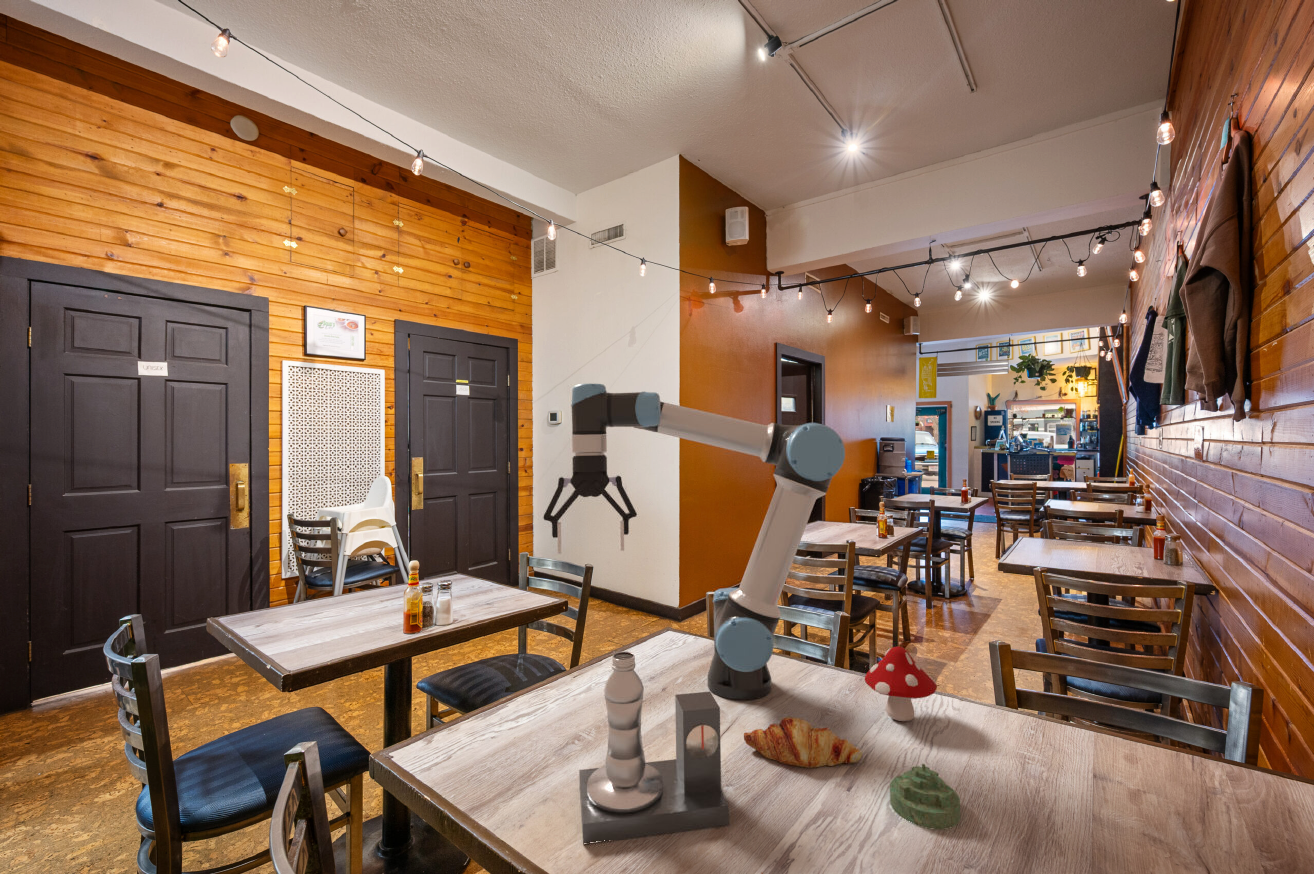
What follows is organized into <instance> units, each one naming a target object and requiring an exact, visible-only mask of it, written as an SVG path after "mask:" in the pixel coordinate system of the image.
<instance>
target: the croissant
mask: <svg viewBox="0 0 1314 874" xmlns="http://www.w3.org/2000/svg"><path fill="white" fill-rule="evenodd" d="M743 740H744V742H745V743H746V744H747V746H749V747H750V748H752V749H754V750H756V751H757V752H758V753H760V754H761V756H763V757H765V758H767V759H768V760H774V761H777V762H779V763H781V764H784V765H790V766H797V767H801V768H818V767H819V768H820V767H824V766H829V767H833V766H836V765H841V764H853V763H856V762H859V761H860V760H861V759H862V755H863V752H862V750H861V749H859V748H857V747H856V746H855V745H854V744H852V742H850V741H849V740H848V739H846V738H844V739H842V738H840V737H839V736H838V735H836V734H834V733H833V731H832V730H829V728H828V727H821V728H819V727H818V728H817V727H813V726H812V725H811V724H810V723H809V722H808V721H807V720H805V719H801V718H800V717H799V718H798V717H792V716H790V717H784V718H782V719H781V721H780V723H770V724H769V726H768V727H767V728H766V729H762V728H757V729H755V730H752V731H751V732H744V733H743Z"/></svg>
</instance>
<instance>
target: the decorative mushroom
mask: <svg viewBox="0 0 1314 874" xmlns="http://www.w3.org/2000/svg"><path fill="white" fill-rule="evenodd" d="M864 682H865V683H866V684H867V686H869V687H870V688H871V689H872V690H873V691H875V692H876V693H878V694H880V695H882V696H883V695H885V696H888V698H887V702H886V704H885V705H886V706H885V711H886V715H888V716H889V717H890V718H891V719H893V720H894V721H899V722H908V721H911V720H912V719H914V718H915V708H914V706H913V705H914V704H913V702H912V700H915V699H924V698H927V697H930V696H932V695H933V694H934V693H936V692H937V688H938V685H937V683H936V681H935V679H933V677H932V676H930V675H929V674H927V673H926V672H925V671H924V669H922V668H921V667H920V665H919V664H918V663H917V662H916V661H915V660H914V658H913V657H912V655H911V654H910V653H909V652H908V650H906V648H904V647H901V646H894V647H890V648H888V649H887V650H886V651H885V654H884V657H882V659H881V660H879V661H878V662H877V663H875V664H874V665H873V666H872V667H871V668H870V669H869V670H868V671H867V672H866V673H865V675H864Z"/></svg>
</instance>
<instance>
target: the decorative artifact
mask: <svg viewBox="0 0 1314 874" xmlns="http://www.w3.org/2000/svg"><path fill="white" fill-rule="evenodd" d="M910 768H911V769H910V770H907V771H904V772H903V773H902V774H900V775H897V776H895V777H894V778H893V779H891V781H890V783H889V799H890V800H889V801H890V806H891V808H892V809H893V811H894V812H895V813H896V814H897V815H898V816H899V817H901V819H903V818H904V819H903V820H905V819H906V820H905V821H906V822H909V821H910V822H909V823H911V822H912V823H911V824H913V823H914V824H913V825H915V824H916V825H915V826H918V825H919V826H918V827H921V826H923V827H922V828H925V827H927V828H926V829H929V828H934V829H933V830H946V829H945V828H948V829H950V827H952V828H954V827H956V826H957V825H958V824H959V823H960V821H961V799H960V797H959V795H958V793H957V791H956V790H954V789H953V787H951V786H950V785H948V784H947V783H946V782H945V780H944V779H943V778H942V777H940V776H939V773H938V772H937V771H935V770H932V769H930V767H928V766H926V764H925V763H922V764H921V766H912V767H910ZM953 826H954V827H953Z"/></svg>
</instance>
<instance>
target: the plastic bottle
mask: <svg viewBox="0 0 1314 874" xmlns="http://www.w3.org/2000/svg"><path fill="white" fill-rule="evenodd" d="M611 657H612V658H611V659H612V663H611V669H612V670H613V671H612V673H611V674H610V676H608V679H607V680H606V682H605V685H604V689H603V690H604V691H603V692H604V700H605V706H606V711H607V724H608V726H607V727H608V735H607V736H608V737H607V738H608V739H607V751H606V757H605V764H604V766H605V768H606V773H607V777H608V779H609V780H610V782H611V783H612V784H613V785H615V786H618V787H631V786H634V785H636V784H638V783H639V782H640V781H641V779H642V777H643V776H644V773H645V765H646V762H647V761H646V756H645V751H644V747H643V737H642V709H643V701H644V694H645V693H644V692H645V691H644V690H645V689H644V685H643V681H642V679H641V678H640V676H639V675H638V673H637V672H636V671H635V668H636V662H635V661H636V657H635V654H634V652H630V651H618V652H615V653H614V654H612V656H611Z"/></svg>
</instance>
